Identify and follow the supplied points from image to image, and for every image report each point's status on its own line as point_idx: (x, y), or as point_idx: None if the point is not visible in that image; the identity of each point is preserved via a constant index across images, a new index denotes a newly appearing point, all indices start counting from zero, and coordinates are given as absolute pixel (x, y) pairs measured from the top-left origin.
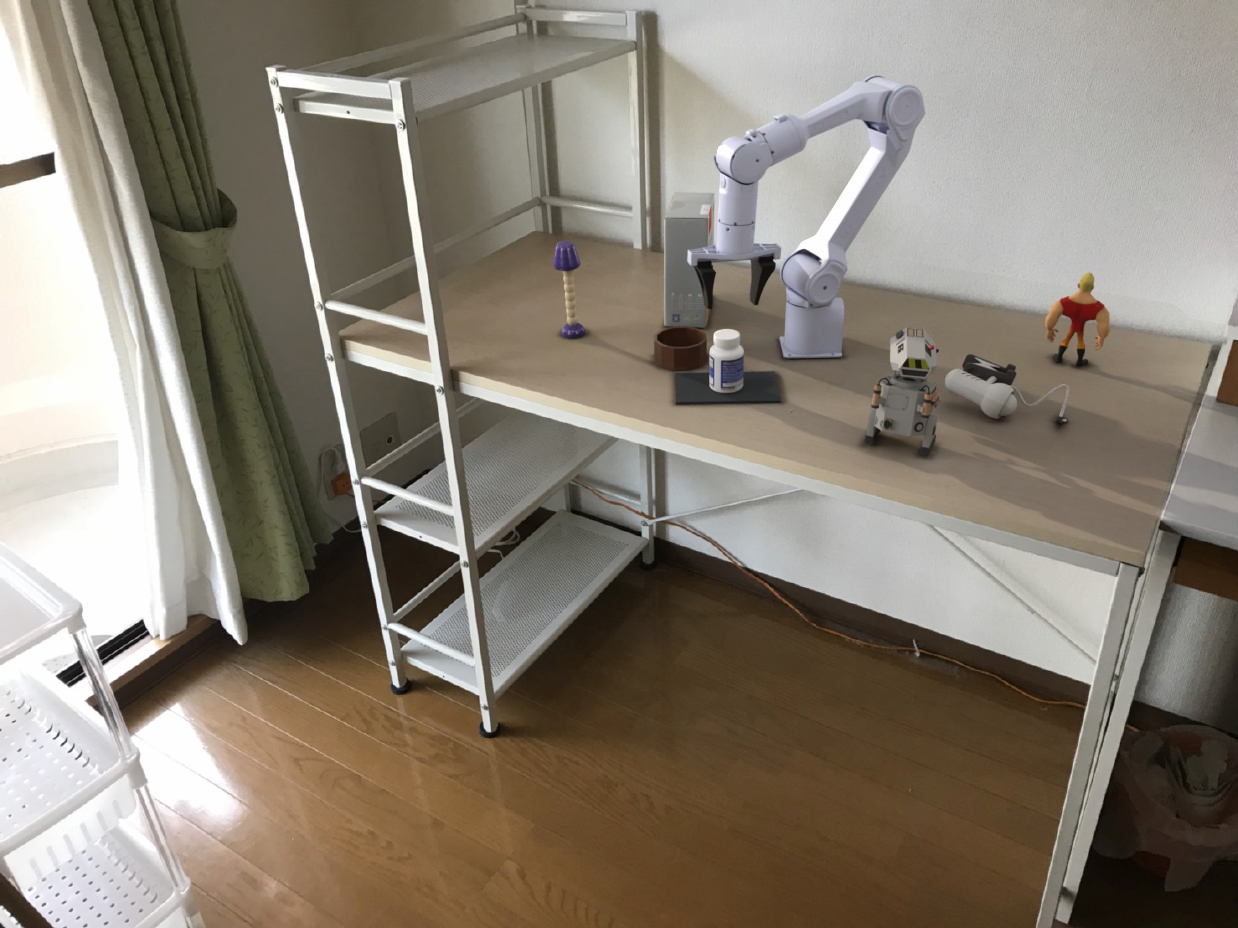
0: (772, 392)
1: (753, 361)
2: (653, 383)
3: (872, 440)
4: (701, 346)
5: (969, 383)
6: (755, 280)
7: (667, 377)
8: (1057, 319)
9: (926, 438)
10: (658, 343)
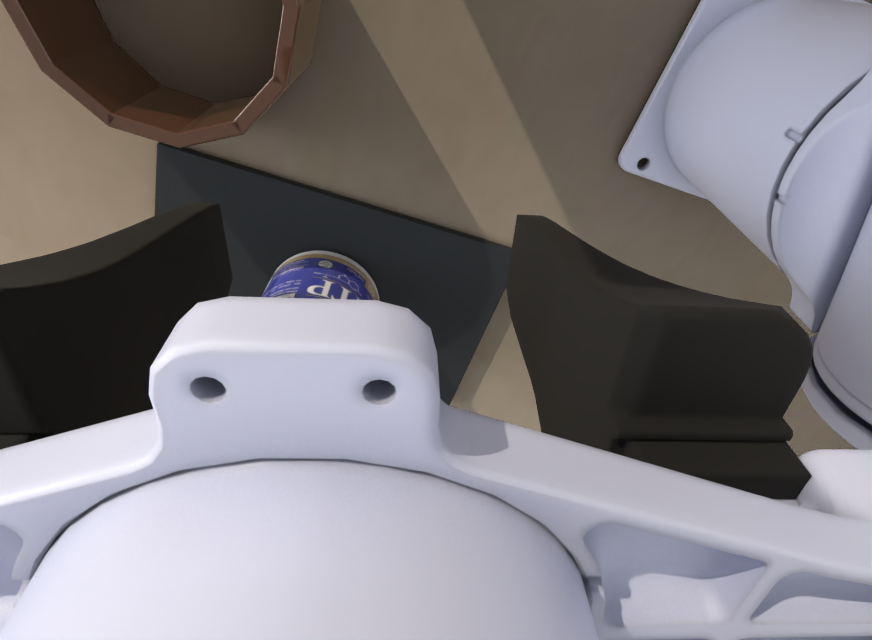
0: (447, 366)
1: (497, 132)
2: (75, 174)
3: None
4: (256, 120)
5: None
6: (551, 352)
7: (131, 145)
8: None
9: None
10: (23, 39)
